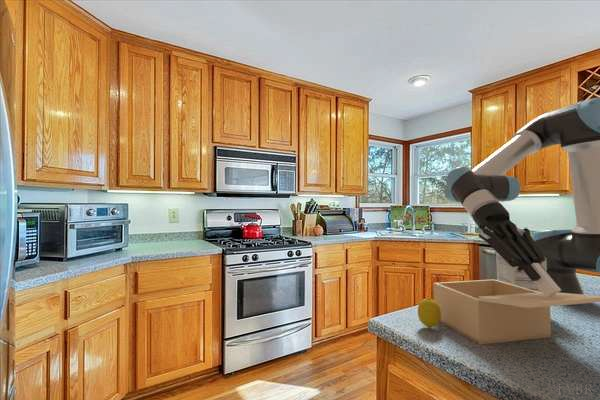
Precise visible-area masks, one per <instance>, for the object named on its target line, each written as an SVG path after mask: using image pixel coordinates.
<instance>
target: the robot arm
mask: <svg viewBox="0 0 600 400" xmlns="http://www.w3.org/2000/svg"><path fill="white" fill-rule="evenodd" d="M555 145H560V149H562V151H563V150H564V151H565V152H567V156H568V163H569V173H570V179H571V180H570V181H571V188H572V196H573V203H574V204H573V205H574V206H573V207H574V212H575V221H576V226H574V227H573V228H572V229H550V230H549V229H546V230H536V231H533V233H532V235H531V230H530V229H529V228H527V227H524V228H523V229H521V228H519V227H517V225H516V223H514V222H513V221H511V220H510V219H511V218H510V213H509V211H508V210H507V209H506V208H505V206H504V205H503V204H502V203H500V202H511V201H513V200H515V199H517V197H519V195H520V193H521V183H520V181H519V180H518V178H516V177H514V176H511V175H510V176H509V175H505V174H506V173H507V172H508V171H510V170H511V169H513V167H515V166H516V165H517V164H519V163H520V162H521V161H523V160H524V159H525V158H526V157H528V156H529V155H533V154H536V153H538V152H539V151H541V150H542V149H545V148H548V147H551V146H555ZM443 191H444V196H445V197H446V199H447V200H448V201H450V202H453V203H454V202H455V203H460V204H461V205H462V207H463V208H464V209H465V210H466V212H467V213H468V215H469V216H470V217H471V218H472V221H473V222H474V223H475V224H476V226H477V227H478V228H479V229H480V230H481V232H480V233H479V234H478V237H479V238H480V239H481V240H483V241H484V242H486V243H487V244H488V245H489V246H490V247H491V248H492V249H493V250H494V251H495V252H496V253H498V254H499V255H500V256H501V257H502V258H503V259H504V260H505V261H506V262H507V263H508V264H509V265H510V266H512V267H515V266H517V267H518V268H517V270H518V271H522V270H524V272H525V273H526V274H527V275H528V277H529V278H530V279H531V280H532V281H534V283H535V284H536V285H537V286H538V288H539V289H540V290H541V291H542V293H543V294H544V295H545V297H552V296H554V295H555V294H557V293H558V292H559V293H570V294H582V295H585V294H584V290H583V287H582V285H581V283H580V281H579V279H578V276H577V270H580V271H586V272H593V273H597V274H600V97H593V98H589V99H585V100H580V101H579V102H576V103H572V104H569V105H567V106H563V107H561V108H556V109H554V110H551V111H548V112H546V113H543V114H542V115H539V116H538V117H536V118H534V119H533V120H531V121H530V122H528V123H527V124H525V125H524V126H522V128H520V129H519V130H518V131H516V132H515V133H514V134H513V136H512V137H511V140H509V141H508V142H507V143H505V144H504V145H502V146H501V147H500V148H499V149H498V150H496V151H495V152H493V153H492V154H491V155H490V156H488V157H487V158H485V159H484V160H483V161H482V162H480V163H479V164H477V166H475V167H474V168H473V169H470V167H468V166H457V167H456V168H453V169H452V170H450V172H448V175H446V178H445V186H444V189H443ZM545 258H546V262H547V271H546V270H545V269H544V268H543V267H542V265H541V263H542V262H543V261H545ZM512 259H513V260H512Z"/></svg>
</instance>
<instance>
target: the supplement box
mask: <svg viewBox="0 0 600 400" xmlns="http://www.w3.org/2000/svg"><path fill="white" fill-rule="evenodd" d="M495 259H496V265H495V266H496V280H498V281H502V282H505V283H509V284H512V285H516V286H519V287H523V288H526V289H530V290H534V291H537V292H542V291H541V290H540V289H539V288H538V286H537V285H536V284H535V283H534V281H532V280H531V279H530V278H529V277H528V275H527V274H526V273H525V272H524V270H522V271H518V270H517V268H518V267H517V266H515V267H512V266H510V265H509V264H508V263H507V262H506V261H505V260H504V259H503V258H502V257H501V256H500V255H499V254H498V253H497V252H496V253H495ZM512 260H513V259H512ZM541 265H542V267H543V268H544V269H545V270H546V271H547V262H546V258H545V261H543V262H542V263H541Z"/></svg>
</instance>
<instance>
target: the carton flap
mask: <svg viewBox="0 0 600 400" xmlns="http://www.w3.org/2000/svg"><path fill="white" fill-rule="evenodd" d="M478 299H479V301H486V302H492V303H499V304H505V305H512V306H518V307H525V308H534V307H546V306H550V307H555V306H568V305H580V304H593V303H600V295H592V294H584V295H582V294H570V293H559V292H558V293H557V294H555V295H554V296H552V297H545V295H544V294H543V293H542V292H539V293H525V294H510V295H496V296H482V297H478Z"/></svg>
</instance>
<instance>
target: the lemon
mask: <svg viewBox="0 0 600 400" xmlns="http://www.w3.org/2000/svg"><path fill="white" fill-rule="evenodd" d="M417 315H418V316H417V317H418V319H419V321H420V323H421V324H423V325H424V326H426V327H427V328H428V329H429V330H431V329H432V328H433V327H436V326H438V325H439V324H440V323H441V322H440V320H441V311H440V307H439V305H438V303H437V302H436V301H434V298H433V299H432V298H431V297H429V296H427V297H426V298H423V299H421V300H420V301H419V304H418V306H417Z"/></svg>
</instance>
